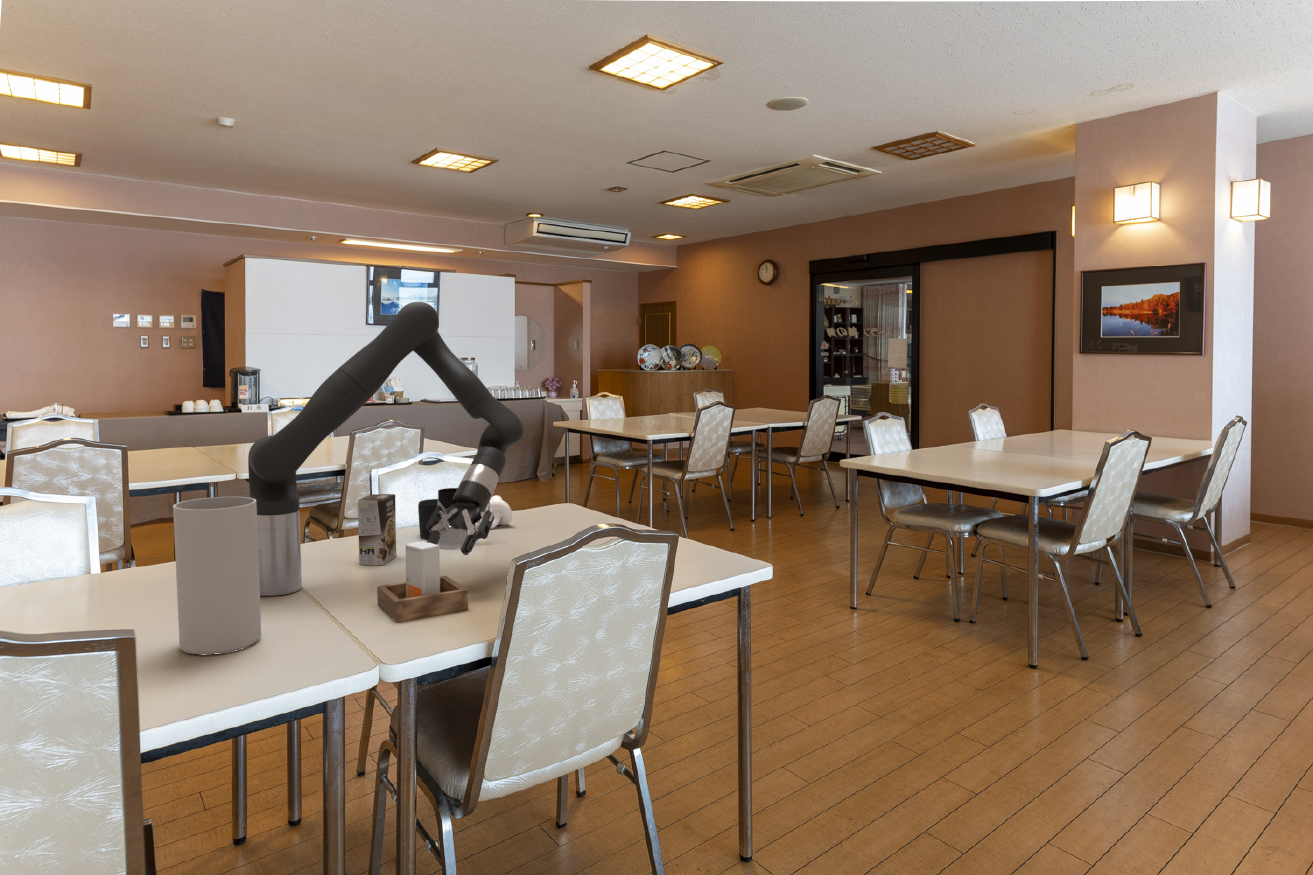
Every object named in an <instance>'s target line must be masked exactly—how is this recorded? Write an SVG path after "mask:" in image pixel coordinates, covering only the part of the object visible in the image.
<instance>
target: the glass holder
mask: <svg viewBox="0 0 1313 875" xmlns="http://www.w3.org/2000/svg"><path fill="white" fill-rule="evenodd" d="M457 489H458V487H448V488H443V489H442V488H441V489H438V490H437V498H436V499H437V500H438V505H440V506H441V507H442V508H445V509H448V508H449V507H450V506H451V505H452V501H453V497H454V495H455V493H456V491H457ZM489 509H490V501H489V505H488V510H489ZM480 523H481V522H480ZM480 523H479V524H478V523H477V524H476V527H477V528H479V526H480ZM446 525H450V524H449V521H447V522H446ZM442 528H443V527H441V528H440V529H442ZM440 529H439V530H440ZM467 535H470V534H469V531H468V529H467V530H462V529H454V528H453V529H452V530H451V531H449V532H445V533H444V534H443V535H441V536H440V539H439V541H438V543H437V545H439V549H441V548H443V549H442V550H458V549H457V548H460V549H461V547H462V545H463V543H464V541H465V539H466V537H467Z"/></svg>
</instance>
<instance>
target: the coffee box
mask: <svg viewBox="0 0 1313 875" xmlns="http://www.w3.org/2000/svg"><path fill="white" fill-rule="evenodd" d="M396 512H397V511H396V493H395V494H394V493H392V494H390V493H379V494H375V493H374V494H370V495H367V496H364V497H362V498H360V499H358V500H357V515H358V516H357V517H358V518H357V519H358V521H357V522H358V523H357V524H358V532H357V533H358V565H360V566H361V565H362V566H364V565H365V566H367V565H369V566H385V564H387V563H389V562H390V561H392V560H393V559H394V558H396V557H397V523H396V522H397V521H396V520H397V519H396V518H397V517H396V514H397V513H396Z"/></svg>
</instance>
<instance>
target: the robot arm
mask: <svg viewBox="0 0 1313 875" xmlns="http://www.w3.org/2000/svg"><path fill="white" fill-rule="evenodd" d="M439 325H440V319H439V315H438V312H437V311H436V309H435V308H434V307H433V306H432V305H431V304H429V303H427V302H423V301H412V302H409V303H407V304H405V305H404V306H402V307H401V309H400V310H399V311H398V312H397V313H396V315H395V316H394V317H393V318H392V320H391V321H389V323H388V324H387V325H385V326H386V327H384V328H383V330H382V331H381V332H380V333H379V334H378V335H377V336H376V337H375V338H374V339H373V340H372V341H370V342H369V343H368V344H366V345H365V346H364V347H362V348H361V349H360V350H358V351H357V352H356V353H355V354H354V355H352V356H351V357H349V358H348V360H347V361H345V362H344V363H343V364H341V365H340V366H339V367H338V368H337V369H336V370H335V371H334V372H332V374H330V375H329V376H328V377H327V378H326V379H325V380H324V381H323V382H322V383H321V384H320V386H319V387H318V388H317V389H316V391H314V393H313V394H312V396H311V397H310V398H309V399H308V401H307V402H306V404H305V405H304V407H303V408H302V410H300V412H299V413H298V414H297V415H296V416H295V417H294V418H293V419H292V420H291V421H290V422H288V424H285V426H283V427H282V428H281V429H280V430H279V431H277V432H275V434H272V435H266V436H263V437H260V438H259V439H257V440H255V441H254V442H253V444H252V445H251V446H250V448H249V451H248V455H247V456H248V458H247V462H248V464H247V469H248V488H249V498H253V499H256V506H257V533H258V561H259V588H260V597H265V596H266V597H267V596H268V597H269V596H270V597H271V596H272V597H273V596H275V597H276V596H282V595H283V596H284V595H288V594H292V593H296V592H299V591H300V590H301V589H302V588H303V584H302V583H303V581H302V580H303V575H302V552H301V550H302V549H301V548H302V547H301V546H302V545H301V521H300V520H301V518H300V515H301V513H300V496H299V492H298V483H297V471H298V470H299V469H300V467H301V466H302V465H303V464H304V462H306V460H307V459H308V458H309V456H311V454H312V453H313V452H314V451H315V450H316V448H318V446H319V445H320V444H321V443H322V442H324V440H325V439H326V438H328V436H330V434H332V433H333V432H335V431H336V430H337V429H338V428H340V427H341V425H343V424H344V423H345V422H347V421H348V420H349V419H350V418H351V417H352V416H353V415H354V414H356V413H357V412H358V411H359V410H360V409H361V408H362V407H363V406H364V405H366V403H367V402H368V401H370V399H371V398H372V397H373V396H374V395H375V394H376V393H377V392H378V391H379V389H380V388H381V387H382V386H383V385H384V384H385V382H386V381H387V380H388V378H389V377H390V375H391V374H392V373H393V372H394V370H395V369H396V368H397V367H398V365H399V364H400V363H401V362H402V361H403V360H404V359H406V357H407V356H409V354H411V353H412V352H414V353H415V354H416V355H417V356H419V357H420V359H422V361H423V362H425V364H427V365H428V367H429V368H431V370H432V371H433V372H434V373H435V374H436V375H437V376H438V378H439V379H440V380H441V381H442V383H443V384H444V385H445V387H446V388H447V389H448V390H449V391H450V393H451V394H452V395H453V396H454V398H455V399H456V400H457V401H458V403H459V404H460V405H461V407H462V408H463V409H464V410H465V411H466V413H467V414H468V415H469V416H470V418H472V419H474V420H478V419H483V420H484V421H486V422H487V423H488V425H487V426H486V427H485V429H483V432H482V434H481V435H480V439H479V443H478V446H477V451H476V453H475V455H474V458H473V459H472V461H471V464H470V465H469V468H468V469H467V470H466V472H464V475H463V477H462V479H461V481H460V483H459V485H458V486H457V488H458V489H457V491H456V493H455V495H454V497H453V501H452V505H451V506H450V507H449V508H448V509H445V508H442V507H441V506H440V505H438V506H437V507H436V509H435V510H434V512H433V514H432V516H431V517H430V519H429V521H428V523H427V524H426V528H427V529H428V530H429V531H430V533H431V534H430V536H429V538H428V540H426V542H428V543H433V544H435V545H437V543H438V541H439V539H440V536H441V535H443V534H444V533H445V532H449V531H451V530H452V529H453V528H454V529H462V530H467V529H468V534H470V535H467V537H466V539H465V541H464V543H463V545H462V547H461V548H460V551H461V553H462V555H464V556H468V555H469V554H470V553H471V552H472V551H473V549H474V546H475V544H476V542H477V541H478V540H480V539H482V540H486V539H487V538H488V536H489V533H490V531H491V529H490V528H491V526H492V523H493V521H494V516H493V514H492V513H491V511H490V510H486V508H487V506H488V503H489V501H490V499H491V497H493V496H494V495H493V494H494V493H495V490H496V489H497V484H498V481H499V479H500V477H501V475H502V472H503V470H504V468H505V465H506V462H507V461H506V455H505V453H506V451H507V450H508V449H509V447H512V446H513V445H514V444H516V443H518V442H519V441H520V440H521V439H522V438H523V435H524V426H523V423H522V421H521V419H520V418H519V417H518V415H517V414H516V413H515V412H513V411H512V410H511V409H510V408H509V407H507V406H506V405H505V404H504V403H503V402H500V401H499V400H498V399H497V398H495V397H494V396H493V394H492V393H491V392H490V390H489V389H488V387H486V386H485V384H484V382H482V381H481V379H480V378H479V377H478V376H477V375H476V374H475V373H474V372H473V371H472V370H471V369H470V368H469V367H468V366H467V365H466V364H464V363H463V362H462V361H461V360H460V358H458V357H457V356H456V355H455V354H454V352H453V351H451V349H450V348H449V347H448V345H447V344H446V342H445V341H444V340H443V338H442V335H441V334H440V332H439V331H438V330H439V327H440V326H439ZM485 510H486V511H485ZM481 519H482V521H481V523H480V526H479V527H476V526H477V524H478V523H477V522H478V521H480V520H481ZM447 521H449V524H450V525H446V522H447ZM433 523H434V524H433ZM441 527H443V528H442V529H440V528H441ZM439 529H440V530H439Z"/></svg>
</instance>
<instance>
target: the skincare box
mask: <svg viewBox="0 0 1313 875" xmlns="http://www.w3.org/2000/svg"><path fill="white" fill-rule="evenodd" d="M440 554H441V553H440V548H439V545H435V544H433V543H428V542H427V541H423V540H421V541H414V542H409V543H406V544H405V582H406V598H411V597H417V596H423V595H430V594H436V593H440V577H441V573H440V572H441V571H440V569H441V567H440V559H441V558H440Z"/></svg>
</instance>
